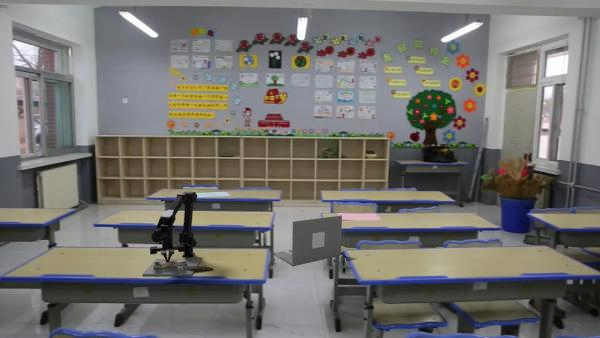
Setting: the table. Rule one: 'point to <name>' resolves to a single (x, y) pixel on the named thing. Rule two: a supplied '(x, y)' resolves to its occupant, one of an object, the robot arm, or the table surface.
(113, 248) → the table surface
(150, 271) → the pivot board
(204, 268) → the stone
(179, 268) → the keeper
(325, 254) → the laptop
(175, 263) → the link
